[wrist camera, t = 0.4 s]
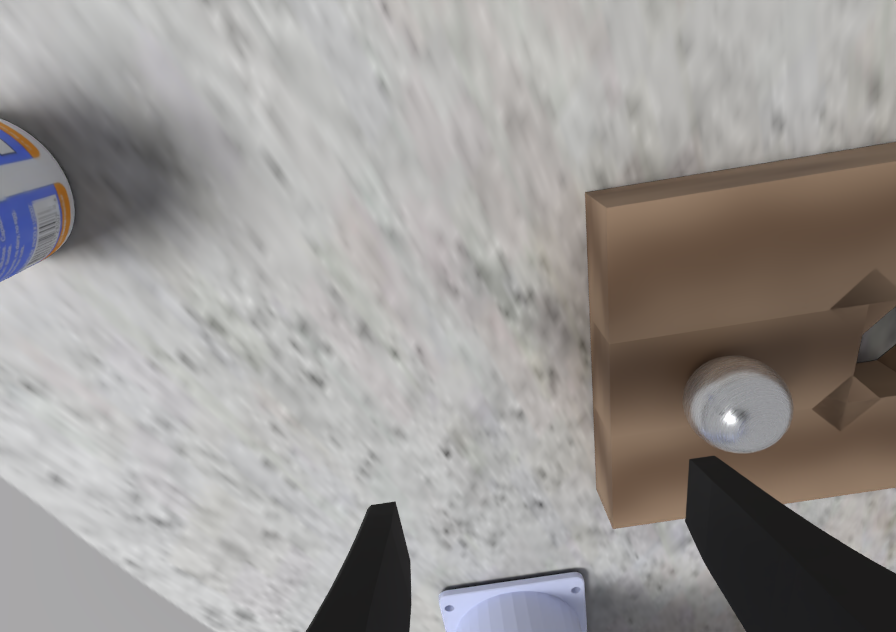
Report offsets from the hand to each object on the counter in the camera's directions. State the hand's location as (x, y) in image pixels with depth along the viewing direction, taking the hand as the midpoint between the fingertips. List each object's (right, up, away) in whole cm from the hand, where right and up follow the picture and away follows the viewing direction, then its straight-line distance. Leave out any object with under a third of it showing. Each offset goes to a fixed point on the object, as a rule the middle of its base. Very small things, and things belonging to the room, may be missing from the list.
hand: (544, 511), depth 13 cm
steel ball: (+8, +2, +6) cm, 10 cm away
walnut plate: (+13, +4, +10) cm, 17 cm away
